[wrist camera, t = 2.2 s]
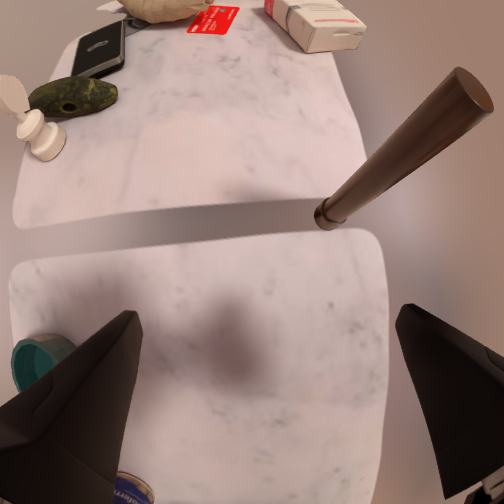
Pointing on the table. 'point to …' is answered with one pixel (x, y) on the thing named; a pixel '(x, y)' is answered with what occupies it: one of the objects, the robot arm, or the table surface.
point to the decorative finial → (30, 120)
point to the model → (164, 9)
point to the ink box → (317, 24)
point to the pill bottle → (131, 491)
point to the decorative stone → (72, 96)
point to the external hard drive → (100, 51)
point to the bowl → (37, 358)
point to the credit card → (214, 20)
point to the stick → (411, 145)
